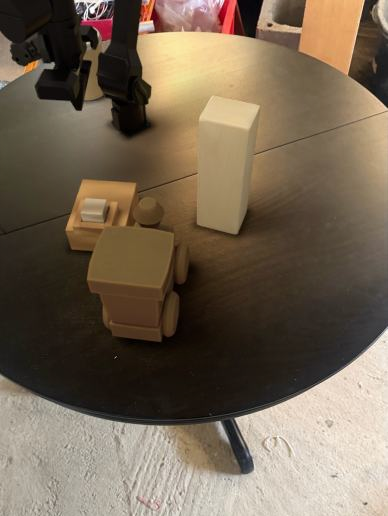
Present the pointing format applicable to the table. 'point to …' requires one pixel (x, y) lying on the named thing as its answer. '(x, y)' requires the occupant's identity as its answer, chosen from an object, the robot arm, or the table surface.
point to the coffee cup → (93, 70)
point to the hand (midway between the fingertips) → (79, 109)
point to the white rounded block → (94, 210)
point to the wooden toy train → (139, 274)
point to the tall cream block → (225, 162)
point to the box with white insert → (119, 212)
